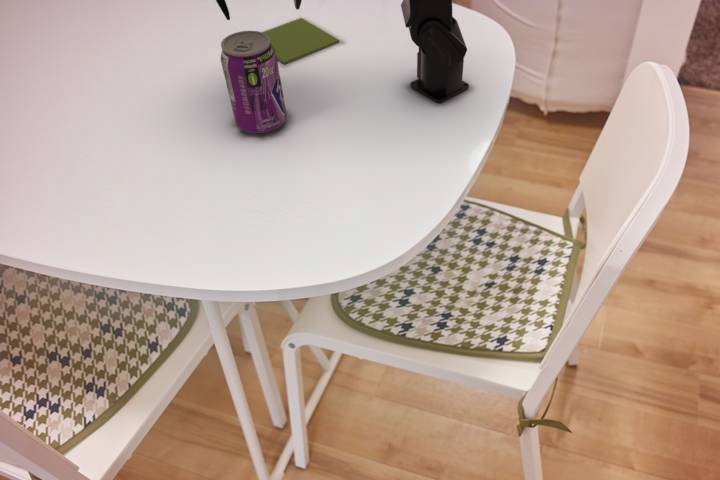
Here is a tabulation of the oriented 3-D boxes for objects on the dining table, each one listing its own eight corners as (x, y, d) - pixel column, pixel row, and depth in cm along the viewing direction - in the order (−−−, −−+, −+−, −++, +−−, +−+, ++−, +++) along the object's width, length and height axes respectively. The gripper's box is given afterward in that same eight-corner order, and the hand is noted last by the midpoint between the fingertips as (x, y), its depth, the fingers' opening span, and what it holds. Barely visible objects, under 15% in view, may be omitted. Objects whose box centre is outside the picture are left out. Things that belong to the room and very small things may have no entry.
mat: (339, 42, 102) (339, 39, 102) (284, 64, 97) (284, 62, 97) (301, 20, 108) (301, 17, 107) (247, 40, 103) (247, 37, 102)
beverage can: (277, 140, 83) (262, 58, 74) (228, 134, 84) (207, 52, 75) (294, 111, 88) (281, 31, 79) (247, 106, 89) (230, 26, 80)
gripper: (303, -147, 77) (316, -20, 89) (150, -132, 73) (185, -1, 84) (326, -122, 70) (337, 12, 81) (158, -104, 66) (194, 35, 77)
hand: (263, 13), depth 81 cm, fingers open, 9 cm apart
